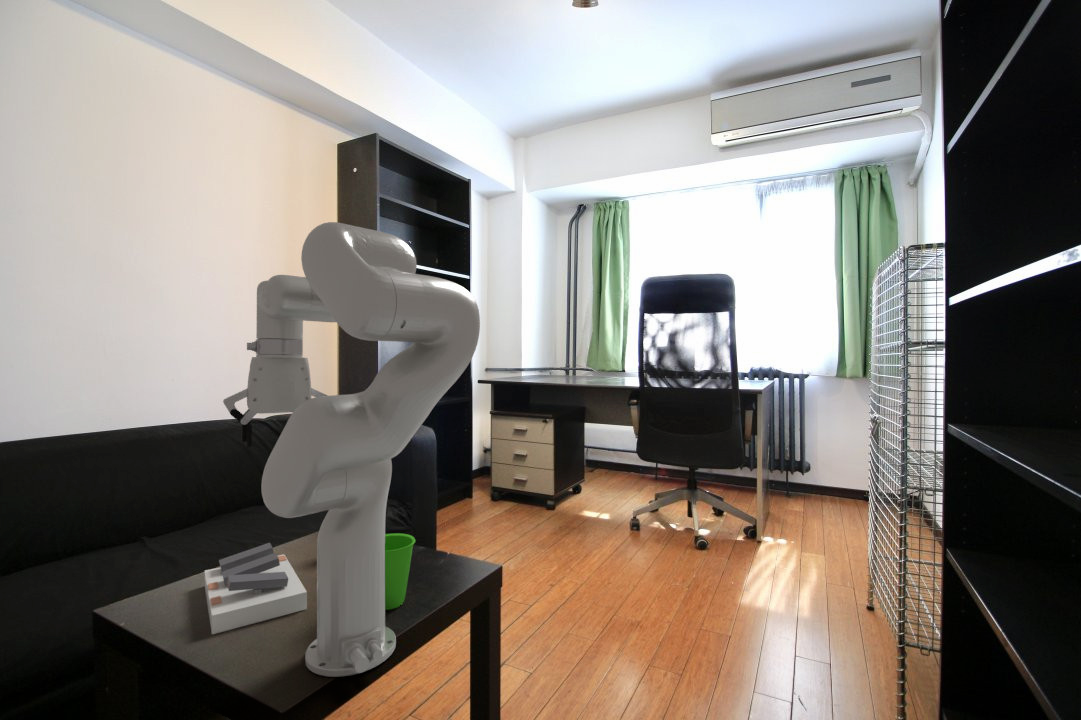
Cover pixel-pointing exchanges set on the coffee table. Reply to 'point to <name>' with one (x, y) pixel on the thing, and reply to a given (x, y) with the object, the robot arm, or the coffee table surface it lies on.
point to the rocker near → (257, 581)
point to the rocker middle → (253, 566)
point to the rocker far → (245, 556)
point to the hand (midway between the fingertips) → (278, 443)
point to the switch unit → (252, 599)
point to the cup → (397, 568)
